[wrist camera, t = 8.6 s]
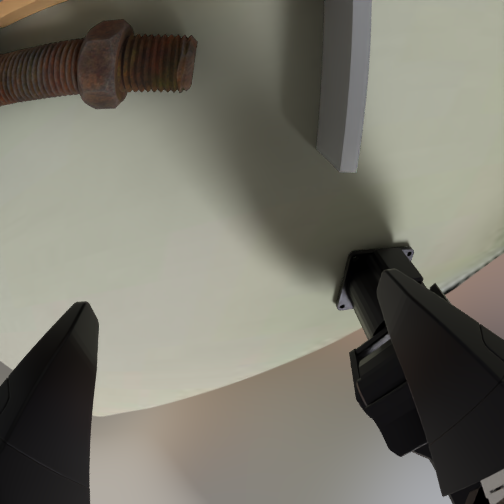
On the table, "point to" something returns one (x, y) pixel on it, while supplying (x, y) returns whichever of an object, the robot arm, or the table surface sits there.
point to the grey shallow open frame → (332, 80)
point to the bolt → (98, 66)
